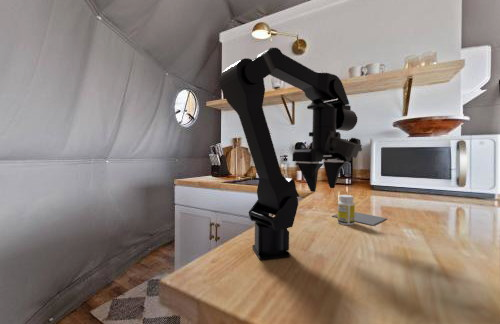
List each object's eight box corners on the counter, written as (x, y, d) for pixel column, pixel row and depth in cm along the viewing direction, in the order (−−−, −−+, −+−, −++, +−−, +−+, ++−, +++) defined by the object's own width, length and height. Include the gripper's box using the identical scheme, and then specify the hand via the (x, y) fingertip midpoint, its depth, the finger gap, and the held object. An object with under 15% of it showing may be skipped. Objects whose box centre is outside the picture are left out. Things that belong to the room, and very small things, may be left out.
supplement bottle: (351, 221, 73) (351, 194, 72) (356, 225, 68) (357, 197, 68) (335, 220, 73) (336, 194, 73) (340, 225, 68) (340, 197, 68)
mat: (372, 225, 68) (372, 224, 68) (332, 216, 78) (332, 215, 78) (386, 219, 75) (386, 218, 75) (347, 211, 85) (347, 210, 85)
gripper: (336, 121, 46) (334, 199, 46) (372, 128, 58) (370, 190, 59) (291, 126, 54) (290, 192, 55) (331, 131, 67) (330, 185, 67)
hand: (322, 189), depth 59 cm, fingers open, 9 cm apart
